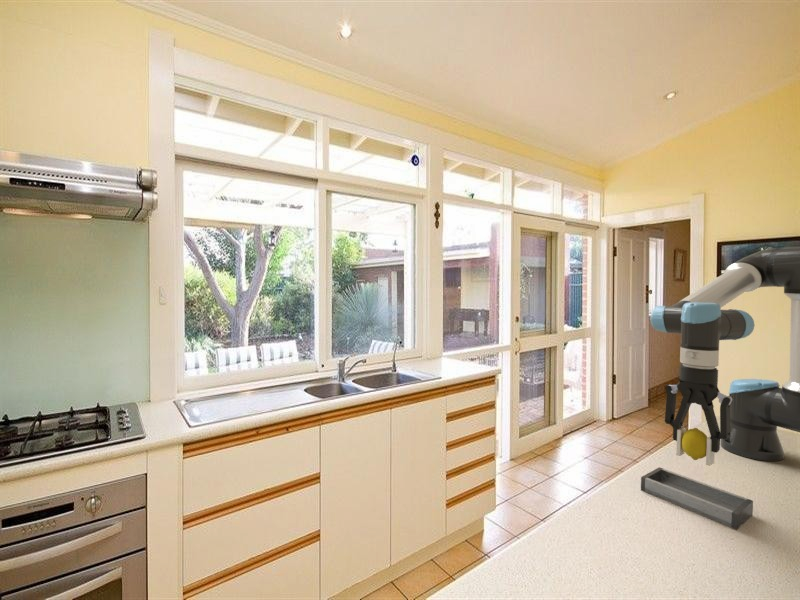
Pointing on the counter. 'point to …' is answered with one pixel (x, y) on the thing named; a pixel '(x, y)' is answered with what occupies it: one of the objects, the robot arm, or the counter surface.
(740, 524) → the tray
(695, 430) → the lemon
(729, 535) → the counter surface
